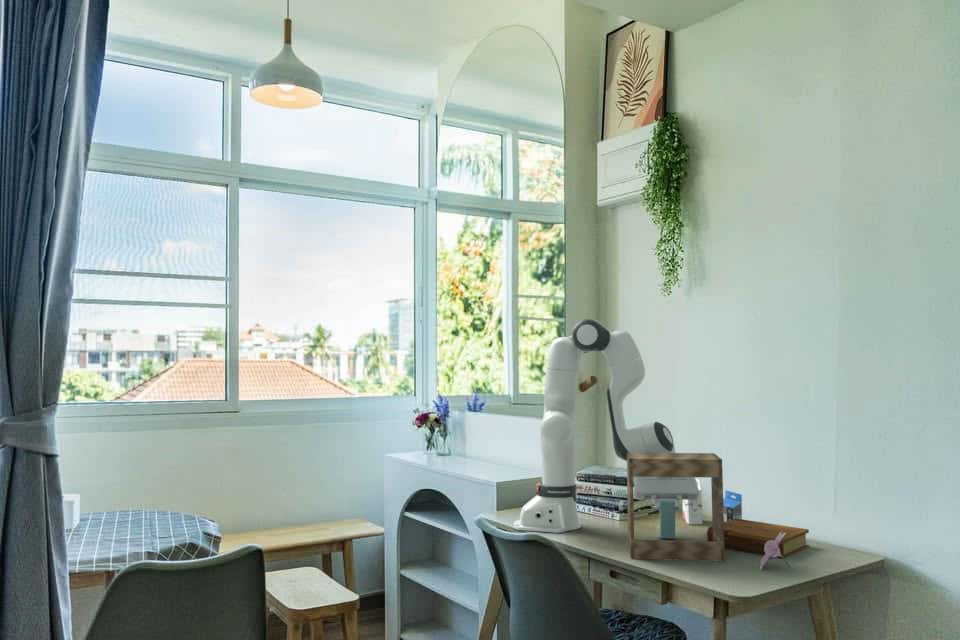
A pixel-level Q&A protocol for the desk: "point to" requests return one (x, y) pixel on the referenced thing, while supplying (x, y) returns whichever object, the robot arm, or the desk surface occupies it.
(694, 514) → the ink cartridge box
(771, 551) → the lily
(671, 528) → the teal block
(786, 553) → the diary
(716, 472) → the walnut cubby
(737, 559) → the desk surface
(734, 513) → the label tape cartridge
